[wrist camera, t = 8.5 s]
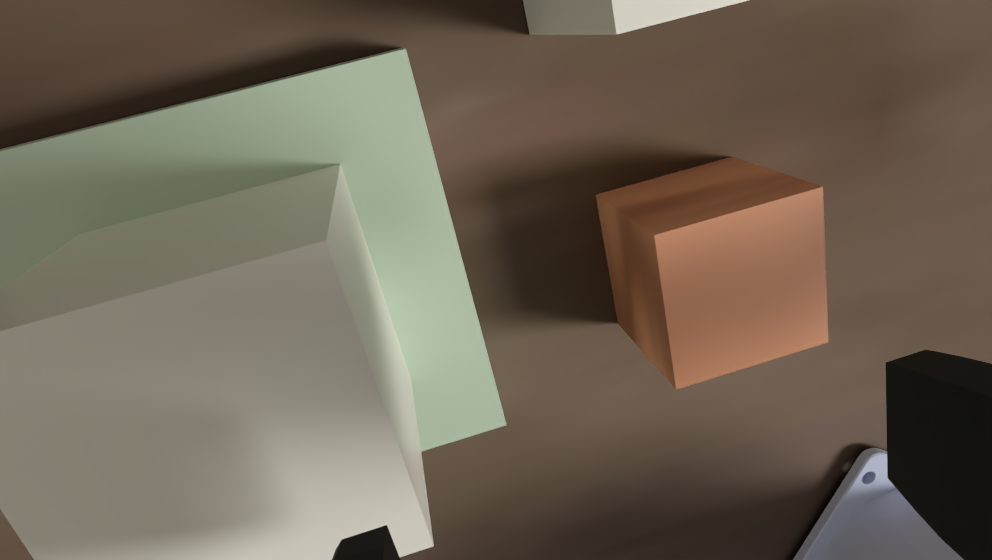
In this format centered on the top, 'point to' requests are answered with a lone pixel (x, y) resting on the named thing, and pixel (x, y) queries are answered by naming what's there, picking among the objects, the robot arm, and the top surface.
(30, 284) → the cream matte cube
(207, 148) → the coaster
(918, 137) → the top surface
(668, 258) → the orange brown block
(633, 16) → the cover
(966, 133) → the top surface
